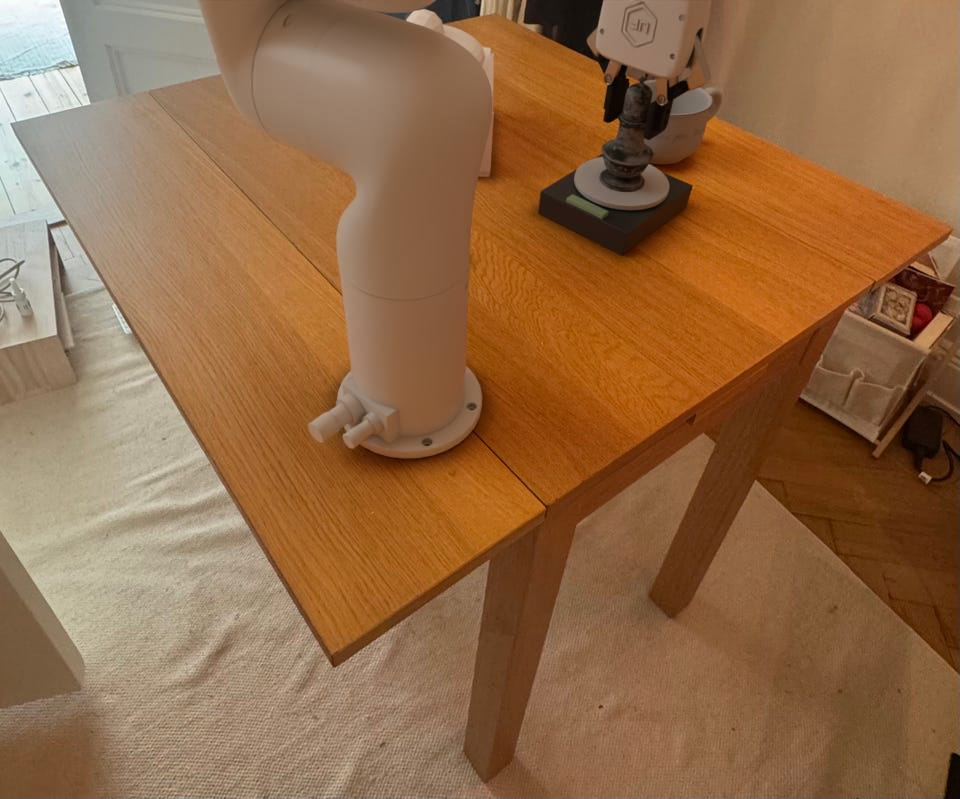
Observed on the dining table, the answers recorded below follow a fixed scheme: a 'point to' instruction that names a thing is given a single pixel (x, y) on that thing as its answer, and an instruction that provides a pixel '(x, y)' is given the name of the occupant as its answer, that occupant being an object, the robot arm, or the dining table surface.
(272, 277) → the dining table surface
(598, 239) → the scale
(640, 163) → the dark grey finial
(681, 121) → the teacup
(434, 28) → the butter dish
